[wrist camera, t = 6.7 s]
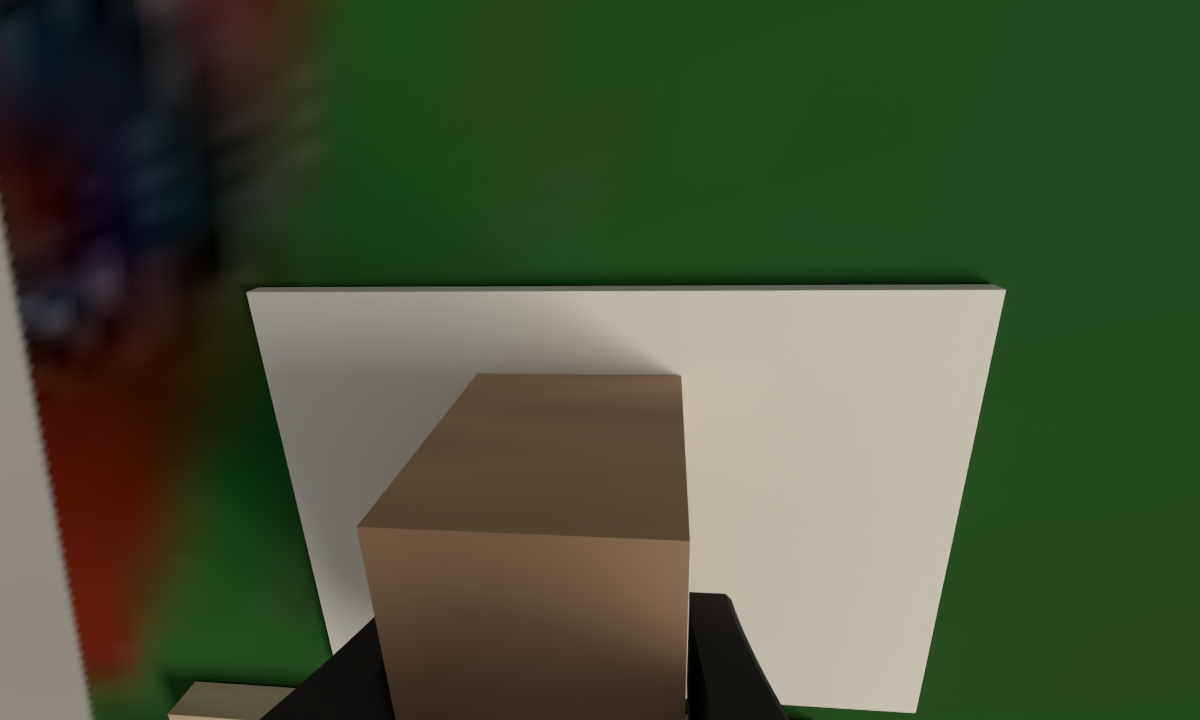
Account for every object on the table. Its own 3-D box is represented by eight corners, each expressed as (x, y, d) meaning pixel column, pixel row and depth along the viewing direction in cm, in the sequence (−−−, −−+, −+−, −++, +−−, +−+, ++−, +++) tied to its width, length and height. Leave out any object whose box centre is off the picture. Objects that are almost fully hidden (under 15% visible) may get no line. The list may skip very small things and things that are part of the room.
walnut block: (674, 688, 14) (677, 955, 10) (510, 676, 15) (437, 927, 10) (681, 376, 12) (689, 540, 7) (477, 373, 12) (356, 527, 7)
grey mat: (909, 698, 14) (915, 713, 14) (345, 663, 16) (338, 676, 15) (994, 284, 11) (1006, 289, 10) (259, 287, 12) (245, 292, 12)
